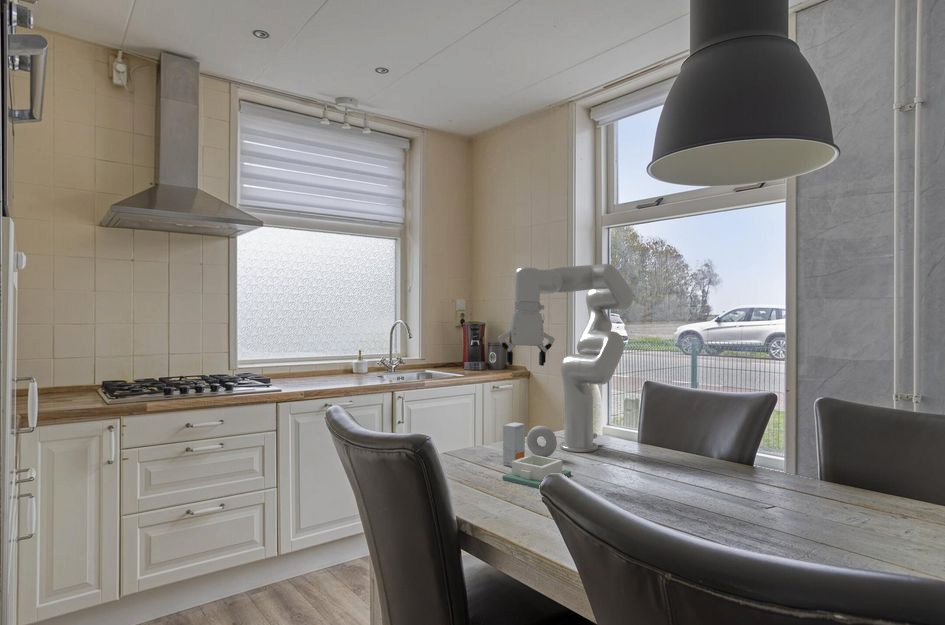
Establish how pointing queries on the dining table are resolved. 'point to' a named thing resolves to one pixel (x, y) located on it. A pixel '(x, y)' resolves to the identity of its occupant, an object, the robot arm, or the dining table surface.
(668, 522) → the dining table surface
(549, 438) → the donut
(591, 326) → the robot arm
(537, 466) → the board
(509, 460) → the skincare box
